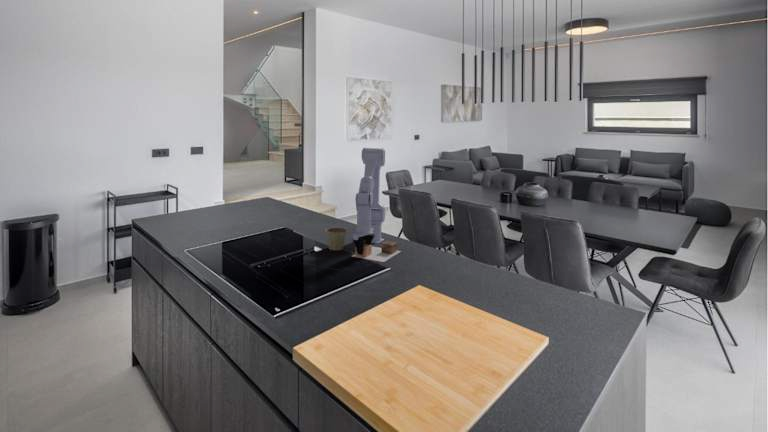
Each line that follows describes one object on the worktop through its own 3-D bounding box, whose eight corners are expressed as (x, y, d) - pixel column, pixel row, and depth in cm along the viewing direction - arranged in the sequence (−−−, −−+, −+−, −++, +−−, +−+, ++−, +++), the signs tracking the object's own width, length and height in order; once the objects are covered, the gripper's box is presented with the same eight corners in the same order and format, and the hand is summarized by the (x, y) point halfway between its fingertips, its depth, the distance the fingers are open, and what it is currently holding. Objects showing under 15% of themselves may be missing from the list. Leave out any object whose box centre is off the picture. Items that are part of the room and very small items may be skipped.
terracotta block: (355, 255, 179) (355, 246, 178) (361, 252, 183) (361, 243, 182) (365, 257, 176) (365, 248, 176) (371, 254, 181) (371, 245, 180)
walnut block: (381, 252, 184) (381, 243, 183) (386, 249, 188) (386, 240, 187) (392, 254, 182) (392, 245, 181) (396, 251, 186) (397, 242, 185)
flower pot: (348, 246, 193) (348, 228, 191) (344, 252, 183) (344, 233, 182) (328, 245, 193) (328, 226, 192) (323, 251, 184) (323, 232, 182)
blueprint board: (351, 257, 178) (351, 256, 178) (370, 247, 193) (370, 246, 193) (383, 263, 171) (383, 262, 171) (401, 252, 186) (401, 251, 186)
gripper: (363, 225, 168) (363, 258, 171) (380, 218, 181) (379, 249, 184) (348, 223, 171) (348, 256, 174) (365, 216, 184) (365, 247, 187)
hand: (363, 252), depth 179 cm, fingers closed on terracotta block, 5 cm apart
